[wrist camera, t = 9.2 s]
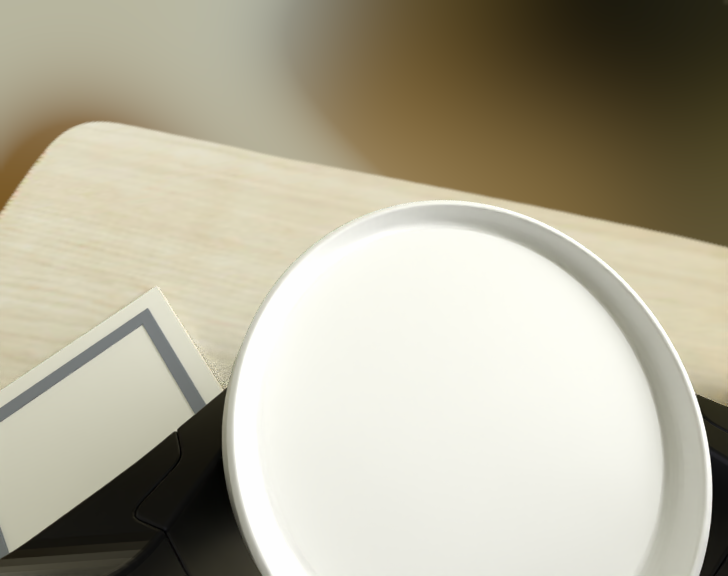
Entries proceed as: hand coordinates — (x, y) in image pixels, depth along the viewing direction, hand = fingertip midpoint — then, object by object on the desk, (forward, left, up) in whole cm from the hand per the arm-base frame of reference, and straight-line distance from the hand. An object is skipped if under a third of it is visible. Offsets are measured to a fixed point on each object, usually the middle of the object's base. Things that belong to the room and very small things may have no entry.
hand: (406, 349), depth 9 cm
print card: (-13, +6, -8) cm, 16 cm away
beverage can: (-2, -1, -7) cm, 7 cm away
